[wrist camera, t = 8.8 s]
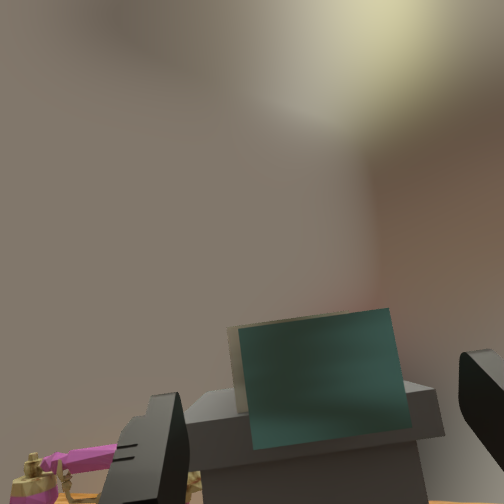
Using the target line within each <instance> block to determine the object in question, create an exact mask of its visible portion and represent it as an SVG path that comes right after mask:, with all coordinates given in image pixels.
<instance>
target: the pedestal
mask: <svg viewBox="0 0 504 504" xmlns="http://www.w3.org/2000/svg"><path fill="white" fill-rule="evenodd" d="M403 382H404V387H405V392H406V397H407V402H408V407H409V412H410V417H411V422H412V427H413V428H407V429H400V430H393V431H385V432H378V433H371V434H364V435H357V436H350V437H343V438H336V439H329V440H322V441H315V442H308V443H301V444H294V445H286V446H279V447H272V448H265V449H258V450H253V443H252V435H251V427H250V419H249V412H243V413H237V408H236V400H235V392H234V388H230V389H223V390H216V391H209V392H206V393H205V394H204V395H203V396H202V397H200V398H199V399H198V400H197V401H196V402H195V403H194V404H193V405H192V406H191V407H190V408H189V409H187V410H186V411H185V412H184V418H185V423H186V427H187V432H188V437H189V445H190V462H189V472H194V471H200V475H201V484H202V494H203V504H429V502H428V498H427V492H426V487H425V482H424V477H423V472H422V468H421V462H420V457H419V452H418V447H417V442H416V440H420V439H426V438H434V437H441V436H445V432H444V427H443V422H442V418H441V413H440V408H439V404H438V399H437V395H436V389H434V388H430V387H427V386H423V385H419V384H415V383H411V382H408V381H404V380H403Z"/></svg>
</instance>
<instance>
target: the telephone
mask: <svg viewBox="0 0 504 504" xmlns="http://www.w3.org/2000/svg"><path fill="white" fill-rule="evenodd" d="M115 450H117V444H112V445H105V446H98V447H91V448H84V449H77V450H71V451H69V453H68V454H63V453H59V452H55V453H54V454H52V455H51V456H47V457H44V458H41V459H38V454H37V453H31V454H29V459H28V461H27V462H25V463H24V464H25V465H24V473H25V476H22V477H20V478H18V479H15V480H13V485H12V491H11V497H10V504H54V502H55V501H56V500H57V498H58V487H57V477H56V474H57V475H58V477H59V479H60V480H61V482H63V483H62V489H63V492H65V494H66V498H67V500H68V502H69V504H78V503H96V504H98V502H99V499H100V496H101V493H102V492H101V493H100V494H98V495H97V497H96V498H86V499H76V500H74V499H73V498H72V497H71V496H70V492H69V490H70V488H71V485H72V483H71V481H69V480H70V479H71V478H72V476H70V475H71V474H75V473H81V472H89V471H96V470H103V469H109V468H110V465H111V463H112V462H113V460H112V459H113V456H114V453H115ZM65 469H69V471H68V473H67V475H66V476H63V470H65ZM64 481H65V482H64ZM201 490H202V484H201V475H200V472H199V471H194V472H188V481H187V491H186V500H185V504H189V502H190V500H191V493H194V492H197V491H201Z"/></svg>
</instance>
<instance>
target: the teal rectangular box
mask: <svg viewBox="0 0 504 504" xmlns="http://www.w3.org/2000/svg"><path fill="white" fill-rule="evenodd" d="M227 335H228V343H229V351H230V359H231V367H232V376H233V383H234V392H235V400H236V408H237V413H243V412H249V419H250V427H251V435H252V443H253V450H258V449H265V448H272V447H279V446H286V445H294V444H301V443H308V442H315V441H322V440H329V439H336V438H343V437H350V436H357V435H364V434H371V433H378V432H385V431H393V430H400V429H407V428H413V427H412V422H411V417H410V412H409V407H408V402H407V397H406V392H405V387H404V382H403V377H402V372H401V367H400V362H399V357H398V352H397V347H396V342H395V337H394V332H393V327H392V322H391V317H390V311H389V308H384V309H376V310H369V311H362V312H355V313H349V311H341V312H334V313H327V314H320V315H312V316H305V317H298V318H291V319H284V320H277V321H270V322H262V323H255V324H248V325H241V326H233V327H227Z"/></svg>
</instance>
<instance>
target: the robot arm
mask: <svg viewBox="0 0 504 504" xmlns="http://www.w3.org/2000/svg"><path fill="white" fill-rule="evenodd" d="M458 398H459V406H460V410H461V412H462V415H463V417H464V419H465V421H466V422H467V424H468V425H469V426H470V427H471V429H472V430H473V432H474V433H475V434H476V436H477V437H478V438H479V440H480V441H481V442H482V444H483V445H484V446H485V447H486V449H487V450H488V451H489V453H490V454H491V455H492V457H493V458H494V459H495V461H496V462H497V463H498V465H499V466H500V467H501V469H502V470H503V471H504V360H503V359H502V358H501V357H500V356H499V355H498V354H497V353H496V352H494V351H493V350H492V349H484V350H477V351H469V352H463V353H462V354H461V355H460V361H459V395H458ZM112 460H113V462H112V463H111V465H110V468H109V471H108V474H107V477H106V481H105V484H104V487H103V490H102V493H101V496H100V499H99V502H98V504H185V500H186V491H187V481H188V472H189V462H190V445H189V437H188V432H187V427H186V423H185V418H184V413H183V409H182V404H181V399H180V396H179V393H178V392H174V393H167V394H160V395H152V396H151V397H150V400H149V404H148V408H147V411H146V415H144V416H137V417H133V418H132V419H131V420H130V422H129V423H128V424H127V426H125V428H124V429H123V430H122V431H121V434H120V438H119V441H118V444H117V450H115V453H114V456H113V459H112Z"/></svg>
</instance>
